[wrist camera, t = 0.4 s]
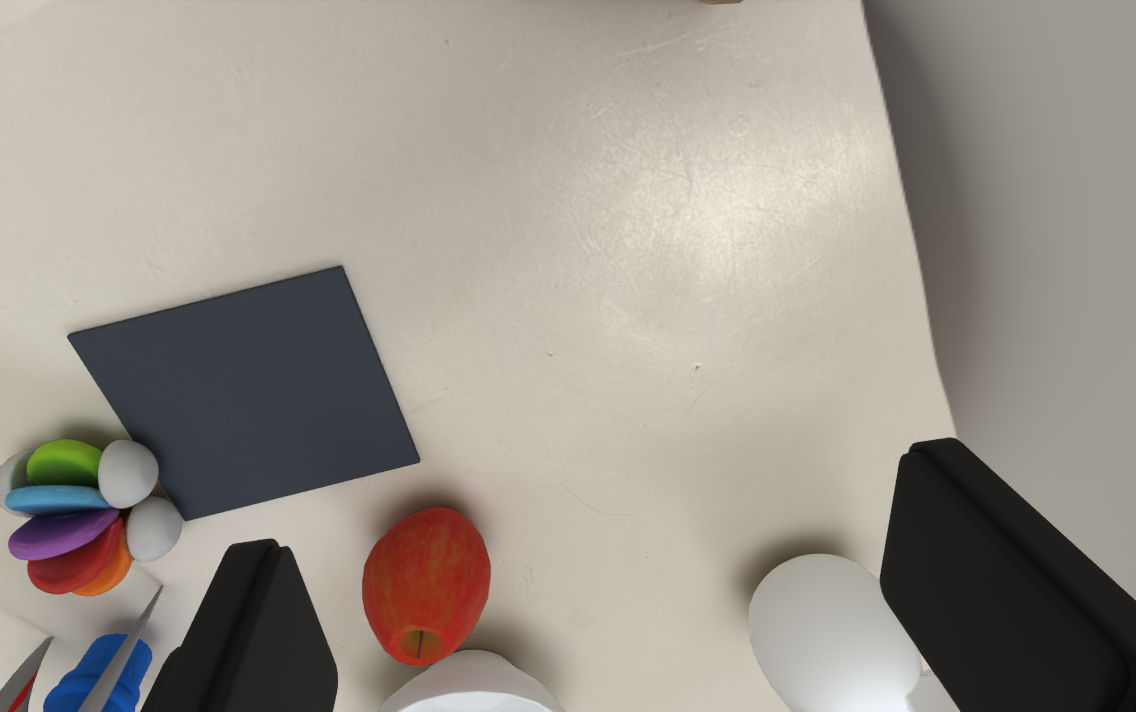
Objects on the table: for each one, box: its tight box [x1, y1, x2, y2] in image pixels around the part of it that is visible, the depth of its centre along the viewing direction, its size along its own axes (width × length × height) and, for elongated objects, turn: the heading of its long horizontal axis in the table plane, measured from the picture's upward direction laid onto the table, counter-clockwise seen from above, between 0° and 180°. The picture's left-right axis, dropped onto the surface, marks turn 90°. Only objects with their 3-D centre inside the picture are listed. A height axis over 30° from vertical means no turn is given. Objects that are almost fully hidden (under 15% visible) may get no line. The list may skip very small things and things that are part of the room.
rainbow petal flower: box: [0, 439, 182, 596], centre depth 39 cm, size 8×10×7 cm
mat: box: [67, 266, 420, 521], centre depth 41 cm, size 14×16×1 cm
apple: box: [362, 506, 491, 666], centre depth 43 cm, size 8×8×11 cm
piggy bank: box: [748, 554, 960, 712], centre depth 47 cm, size 12×12×15 cm
